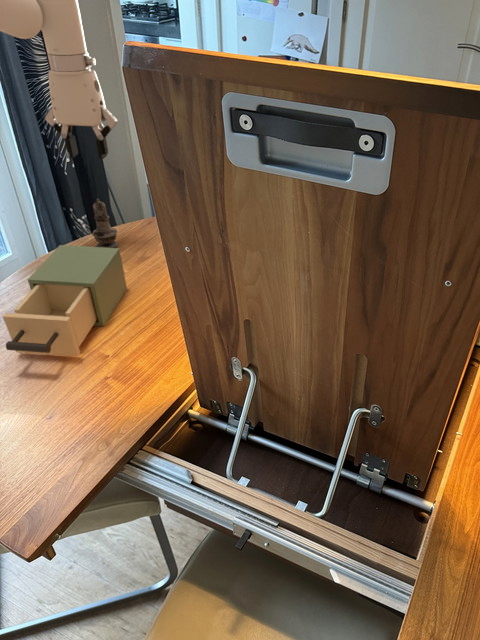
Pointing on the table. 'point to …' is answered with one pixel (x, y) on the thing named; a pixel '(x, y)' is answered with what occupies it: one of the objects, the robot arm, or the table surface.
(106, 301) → the cabinet
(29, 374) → the table surface
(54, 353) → the drawer
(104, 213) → the brown carved figurine
